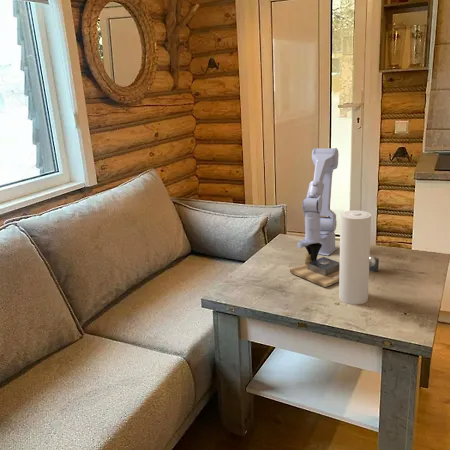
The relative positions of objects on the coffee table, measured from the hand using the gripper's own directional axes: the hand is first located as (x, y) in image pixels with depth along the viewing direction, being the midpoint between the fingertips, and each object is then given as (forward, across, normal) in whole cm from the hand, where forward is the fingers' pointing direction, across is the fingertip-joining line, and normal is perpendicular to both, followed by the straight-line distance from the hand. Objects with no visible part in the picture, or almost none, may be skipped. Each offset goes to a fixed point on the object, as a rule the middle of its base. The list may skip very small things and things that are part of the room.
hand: (313, 261), depth 178 cm
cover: (+2, 0, +6) cm, 6 cm away
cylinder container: (+4, +7, +26) cm, 28 cm away
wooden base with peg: (+3, +1, +6) cm, 7 cm away
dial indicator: (+3, -16, +16) cm, 23 cm away
